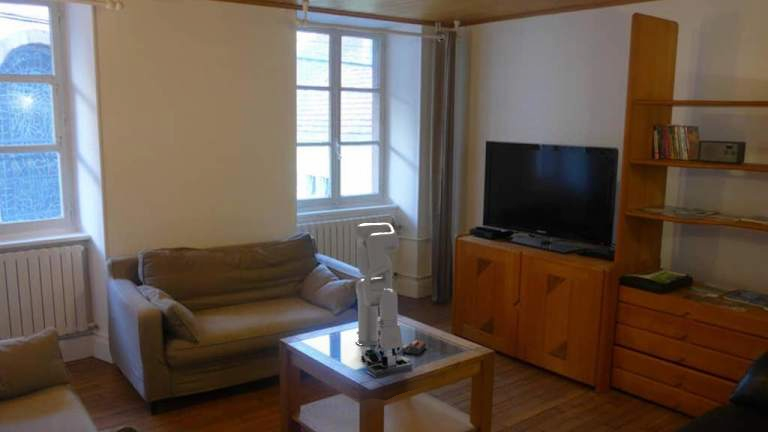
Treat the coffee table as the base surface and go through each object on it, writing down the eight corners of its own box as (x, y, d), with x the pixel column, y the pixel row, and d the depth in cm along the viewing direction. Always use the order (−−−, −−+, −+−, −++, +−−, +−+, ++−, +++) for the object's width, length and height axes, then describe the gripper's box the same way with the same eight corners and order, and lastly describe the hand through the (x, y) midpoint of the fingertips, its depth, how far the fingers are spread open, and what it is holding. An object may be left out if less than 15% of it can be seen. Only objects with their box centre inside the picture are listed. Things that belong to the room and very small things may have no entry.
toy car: (373, 358, 306) (373, 347, 306) (381, 367, 295) (381, 355, 294) (361, 360, 304) (360, 348, 304) (369, 369, 293) (368, 357, 292)
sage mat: (388, 359, 304) (388, 358, 304) (401, 356, 308) (401, 355, 308) (396, 364, 298) (396, 362, 298) (409, 361, 302) (409, 359, 302)
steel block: (382, 369, 291) (382, 354, 290) (390, 368, 293) (390, 352, 292) (387, 372, 288) (387, 356, 287) (395, 370, 290) (395, 355, 289)
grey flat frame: (376, 377, 282) (376, 372, 282) (366, 371, 289) (366, 366, 289) (411, 369, 292) (411, 363, 291) (401, 363, 298) (401, 358, 298)
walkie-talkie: (409, 345, 324) (395, 356, 305) (409, 336, 323) (395, 347, 305) (426, 347, 321) (413, 359, 302) (427, 337, 320) (414, 349, 302)
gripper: (376, 327, 280) (377, 370, 283) (410, 321, 289) (410, 362, 291) (367, 323, 286) (367, 364, 289) (400, 316, 295) (400, 357, 298)
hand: (389, 363), depth 290 cm, fingers closed on steel block, 4 cm apart
